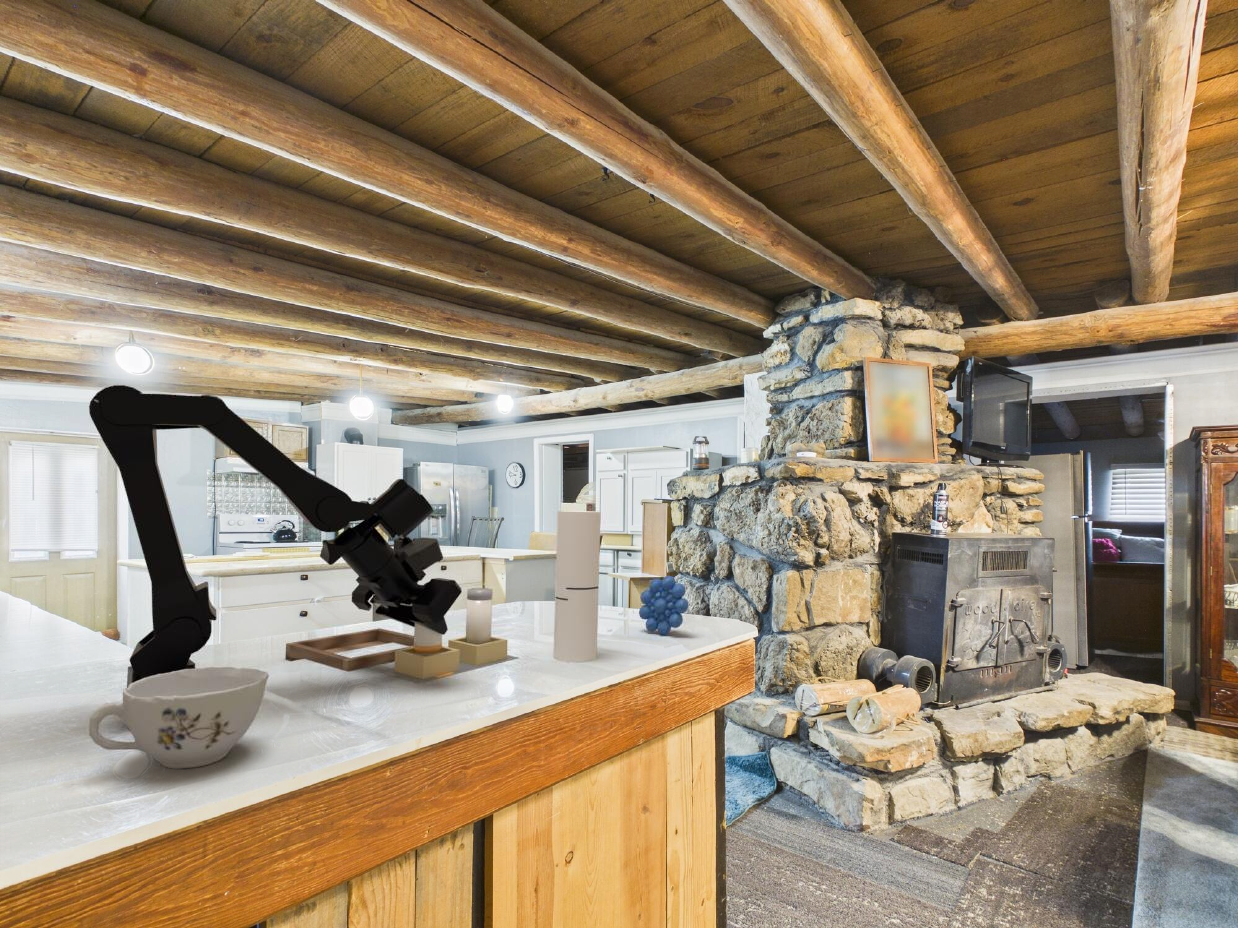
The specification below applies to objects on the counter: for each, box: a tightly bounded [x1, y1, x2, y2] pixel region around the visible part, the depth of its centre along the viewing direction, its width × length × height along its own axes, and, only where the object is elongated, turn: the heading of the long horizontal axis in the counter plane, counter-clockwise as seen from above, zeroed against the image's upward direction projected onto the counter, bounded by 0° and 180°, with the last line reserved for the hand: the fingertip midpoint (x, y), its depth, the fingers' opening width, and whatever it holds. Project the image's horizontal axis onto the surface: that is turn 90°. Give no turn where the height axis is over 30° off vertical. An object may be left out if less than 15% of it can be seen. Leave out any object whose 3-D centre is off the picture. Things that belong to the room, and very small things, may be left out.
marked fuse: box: [413, 623, 443, 656], centre depth 101 cm, size 4×4×11 cm
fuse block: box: [379, 635, 520, 684], centre depth 105 cm, size 20×9×4 cm, turn 144°
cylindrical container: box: [553, 510, 602, 664], centre depth 113 cm, size 7×7×25 cm
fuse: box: [465, 587, 494, 645], centre depth 109 cm, size 4×4×11 cm
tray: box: [284, 628, 414, 672], centre depth 112 cm, size 17×17×2 cm
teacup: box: [88, 666, 270, 769], centre depth 68 cm, size 15×12×8 cm
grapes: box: [638, 575, 689, 636], centre depth 138 cm, size 12×7×12 cm, turn 53°
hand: (435, 630), depth 103 cm, fingers closed on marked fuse, 4 cm apart
